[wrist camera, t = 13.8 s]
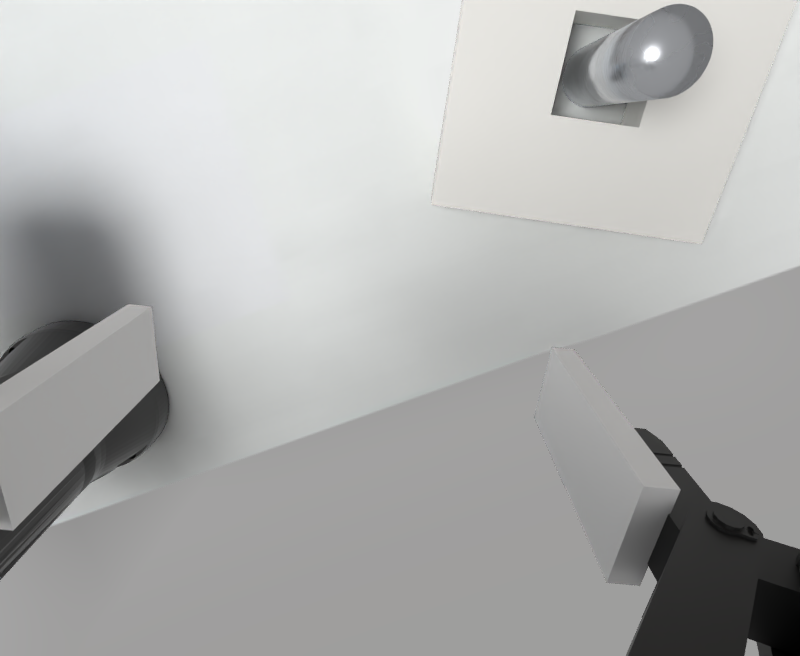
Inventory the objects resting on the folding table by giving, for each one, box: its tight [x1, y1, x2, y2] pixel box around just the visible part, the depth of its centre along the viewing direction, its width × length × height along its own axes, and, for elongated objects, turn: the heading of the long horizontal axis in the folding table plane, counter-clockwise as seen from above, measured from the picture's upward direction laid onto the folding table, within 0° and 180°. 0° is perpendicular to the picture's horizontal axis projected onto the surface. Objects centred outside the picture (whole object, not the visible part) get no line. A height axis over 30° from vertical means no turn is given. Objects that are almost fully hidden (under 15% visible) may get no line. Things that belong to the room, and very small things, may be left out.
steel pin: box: [563, 4, 713, 107], centre depth 28 cm, size 4×4×12 cm
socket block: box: [431, 0, 798, 244], centre depth 32 cm, size 20×20×4 cm
